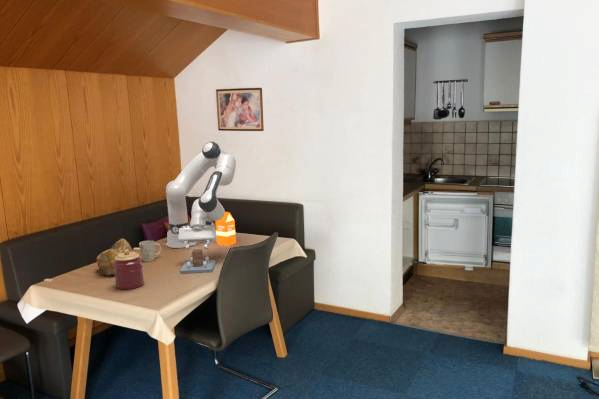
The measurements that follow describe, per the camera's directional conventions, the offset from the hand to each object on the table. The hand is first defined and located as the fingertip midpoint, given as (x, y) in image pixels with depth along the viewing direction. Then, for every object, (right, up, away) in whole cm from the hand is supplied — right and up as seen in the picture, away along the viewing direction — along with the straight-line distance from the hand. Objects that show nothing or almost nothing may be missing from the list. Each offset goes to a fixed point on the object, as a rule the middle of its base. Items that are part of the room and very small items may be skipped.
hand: (196, 248), depth 265 cm
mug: (-29, -8, +18) cm, 35 cm away
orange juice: (+9, -1, +43) cm, 44 cm away
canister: (-27, -15, -23) cm, 39 cm away
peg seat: (+1, -10, -1) cm, 10 cm away
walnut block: (+1, -8, -1) cm, 9 cm away
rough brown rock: (-44, -11, +1) cm, 45 cm away
